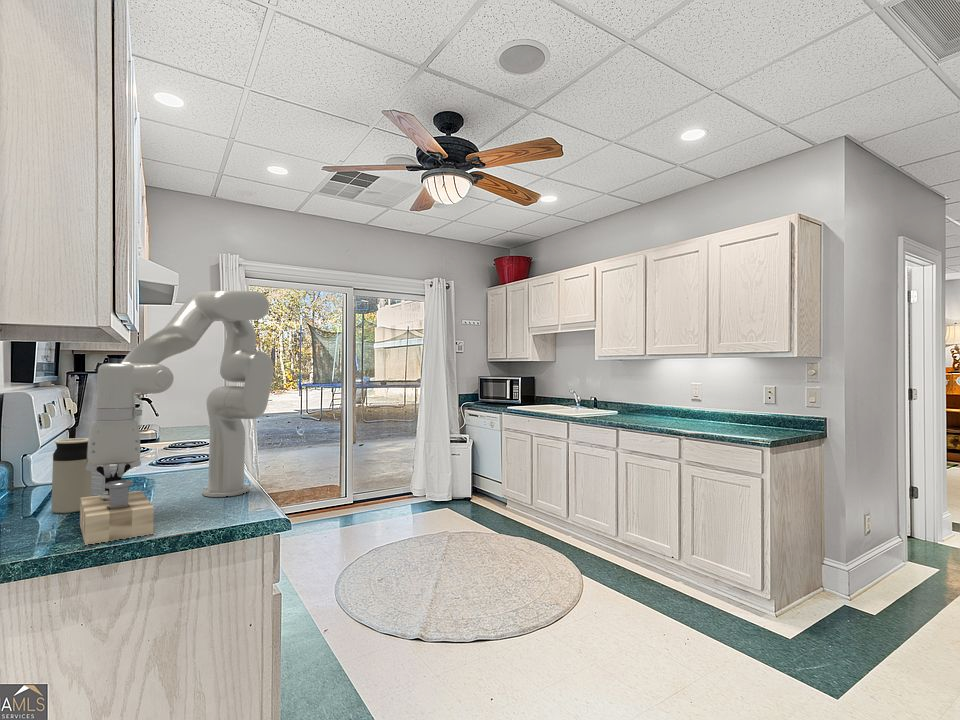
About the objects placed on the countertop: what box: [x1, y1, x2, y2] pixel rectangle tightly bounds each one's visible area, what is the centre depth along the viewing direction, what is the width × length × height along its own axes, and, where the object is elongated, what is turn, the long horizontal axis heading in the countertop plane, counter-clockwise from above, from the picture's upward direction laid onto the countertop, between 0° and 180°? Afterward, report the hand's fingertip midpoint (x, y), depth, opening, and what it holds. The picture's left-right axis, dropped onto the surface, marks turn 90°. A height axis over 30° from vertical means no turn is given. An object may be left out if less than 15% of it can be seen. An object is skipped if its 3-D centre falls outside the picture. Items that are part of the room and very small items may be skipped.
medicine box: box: [91, 464, 118, 496], centre depth 149 cm, size 8×4×9 cm, turn 77°
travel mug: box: [50, 437, 92, 514], centre depth 133 cm, size 8×8×18 cm
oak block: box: [79, 490, 155, 546], centre depth 118 cm, size 20×12×6 cm, turn 40°
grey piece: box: [105, 479, 134, 510], centre depth 114 cm, size 5×5×7 cm
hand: (112, 493), depth 121 cm, fingers closed
